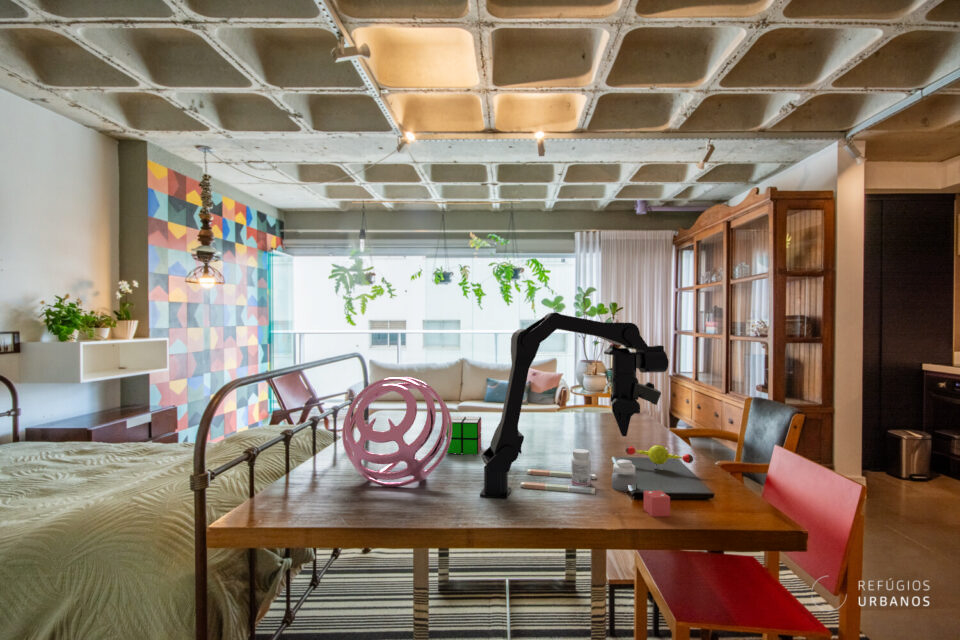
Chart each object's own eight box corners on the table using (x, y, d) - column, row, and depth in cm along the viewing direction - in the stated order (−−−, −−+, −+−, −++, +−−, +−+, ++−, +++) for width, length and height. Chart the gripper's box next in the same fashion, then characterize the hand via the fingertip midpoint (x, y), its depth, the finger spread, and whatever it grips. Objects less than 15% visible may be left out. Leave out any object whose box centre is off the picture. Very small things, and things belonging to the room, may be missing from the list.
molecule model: (695, 472, 134) (695, 447, 134) (691, 477, 129) (691, 451, 129) (628, 461, 143) (628, 438, 143) (623, 466, 138) (623, 442, 139)
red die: (670, 515, 103) (670, 496, 103) (652, 516, 103) (652, 497, 103) (661, 508, 107) (661, 490, 107) (643, 509, 107) (643, 490, 107)
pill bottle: (577, 479, 127) (577, 447, 127) (594, 483, 124) (594, 450, 124) (568, 484, 123) (568, 451, 123) (585, 488, 120) (585, 454, 120)
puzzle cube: (481, 447, 160) (481, 416, 160) (478, 455, 150) (478, 422, 150) (451, 446, 161) (451, 416, 161) (446, 454, 151) (446, 422, 151)
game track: (638, 497, 114) (638, 484, 114) (520, 487, 121) (520, 475, 121) (635, 480, 126) (635, 468, 126) (527, 472, 133) (527, 461, 133)
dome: (636, 475, 118) (636, 465, 118) (613, 473, 119) (613, 463, 119) (634, 469, 123) (634, 459, 123) (613, 467, 124) (613, 458, 124)
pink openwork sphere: (390, 391, 149) (362, 345, 127) (474, 419, 141) (460, 375, 118) (344, 479, 135) (303, 444, 113) (434, 515, 127) (410, 485, 105)
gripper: (663, 378, 110) (663, 447, 110) (654, 370, 128) (654, 429, 128) (612, 376, 113) (612, 444, 113) (610, 369, 131) (610, 427, 131)
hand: (624, 435), depth 121 cm, fingers closed
